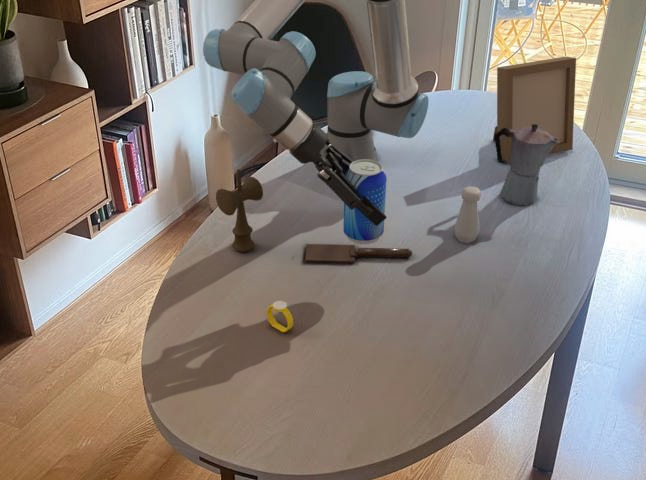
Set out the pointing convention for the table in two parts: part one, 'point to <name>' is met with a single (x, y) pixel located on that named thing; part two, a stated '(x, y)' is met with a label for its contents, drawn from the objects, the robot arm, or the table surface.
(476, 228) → the salt shaker
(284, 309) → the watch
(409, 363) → the table surface
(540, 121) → the photo frame
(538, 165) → the moka pot
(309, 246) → the spatula
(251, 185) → the kendama
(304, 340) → the table surface
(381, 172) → the beer can
